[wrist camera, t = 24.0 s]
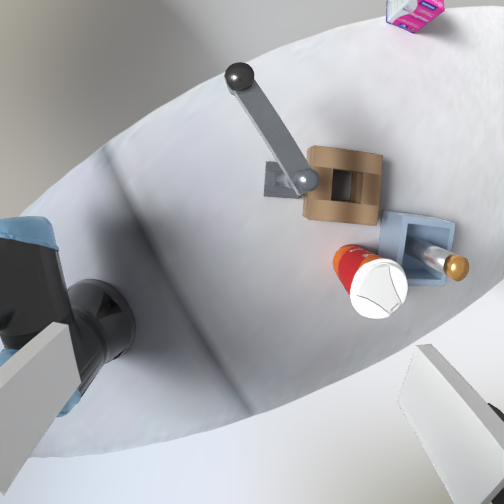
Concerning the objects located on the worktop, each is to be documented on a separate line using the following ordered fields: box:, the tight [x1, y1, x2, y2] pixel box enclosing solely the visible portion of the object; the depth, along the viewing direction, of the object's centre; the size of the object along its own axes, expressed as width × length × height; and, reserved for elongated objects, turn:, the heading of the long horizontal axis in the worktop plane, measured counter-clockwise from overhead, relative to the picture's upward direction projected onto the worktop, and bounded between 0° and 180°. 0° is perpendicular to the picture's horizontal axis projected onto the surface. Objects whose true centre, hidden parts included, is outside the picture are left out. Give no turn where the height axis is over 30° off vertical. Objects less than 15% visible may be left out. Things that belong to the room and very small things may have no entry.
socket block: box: [303, 145, 383, 226], centre depth 42 cm, size 10×10×5 cm
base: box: [264, 162, 299, 199], centre depth 44 cm, size 5×5×1 cm
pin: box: [404, 236, 469, 281], centre depth 38 cm, size 3×3×15 cm
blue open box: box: [377, 210, 456, 286], centre depth 43 cm, size 10×10×7 cm
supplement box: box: [386, 0, 445, 33], centre depth 32 cm, size 6×6×12 cm
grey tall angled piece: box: [224, 63, 320, 196], centre depth 32 cm, size 13×2×20 cm, turn 31°
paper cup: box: [333, 245, 408, 319], centre depth 40 cm, size 8×8×14 cm
